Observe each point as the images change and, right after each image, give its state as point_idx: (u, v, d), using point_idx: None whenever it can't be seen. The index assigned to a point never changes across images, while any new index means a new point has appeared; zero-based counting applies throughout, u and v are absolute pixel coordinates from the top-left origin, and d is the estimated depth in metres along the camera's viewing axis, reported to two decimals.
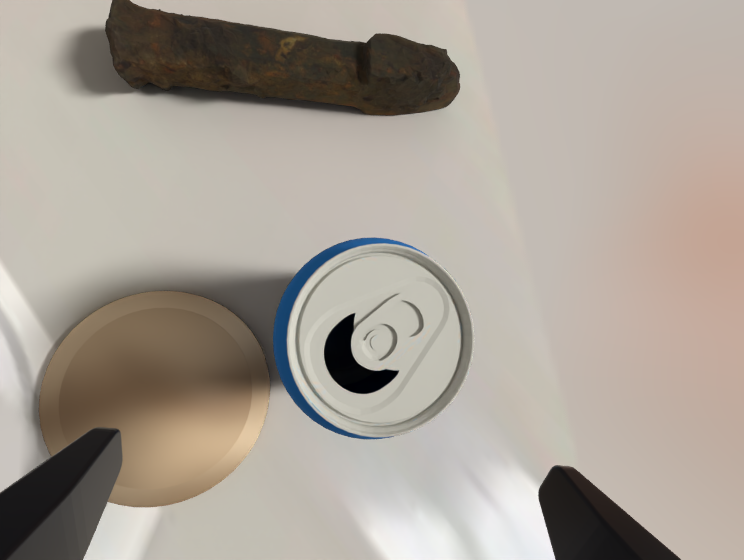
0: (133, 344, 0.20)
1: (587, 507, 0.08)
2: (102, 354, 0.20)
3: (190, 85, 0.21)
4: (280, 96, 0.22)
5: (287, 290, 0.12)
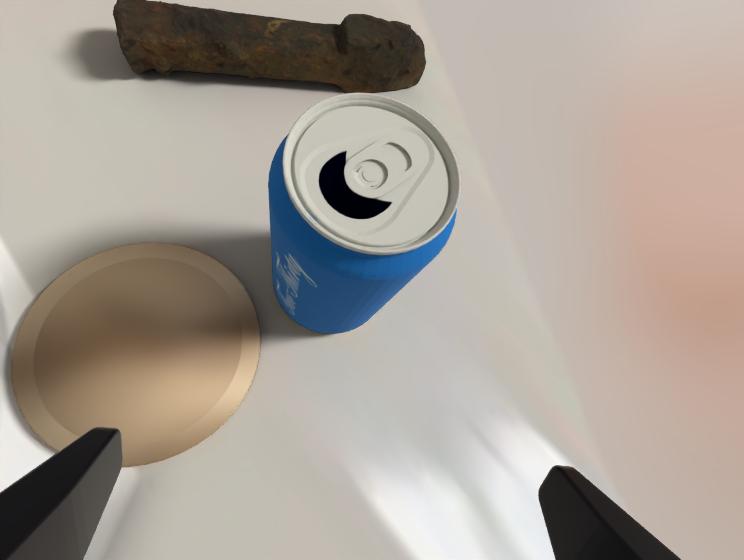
0: (119, 293, 0.20)
1: (587, 507, 0.08)
2: (86, 303, 0.19)
3: (187, 66, 0.24)
4: (269, 75, 0.25)
5: (281, 143, 0.13)
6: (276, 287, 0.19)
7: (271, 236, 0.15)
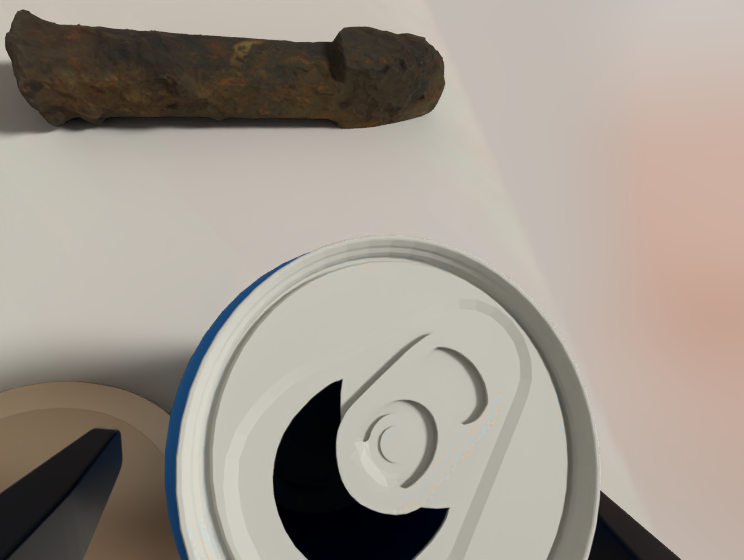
0: None
1: None
2: None
3: (126, 111, 0.17)
4: (240, 114, 0.19)
5: (200, 343, 0.06)
6: None
7: None
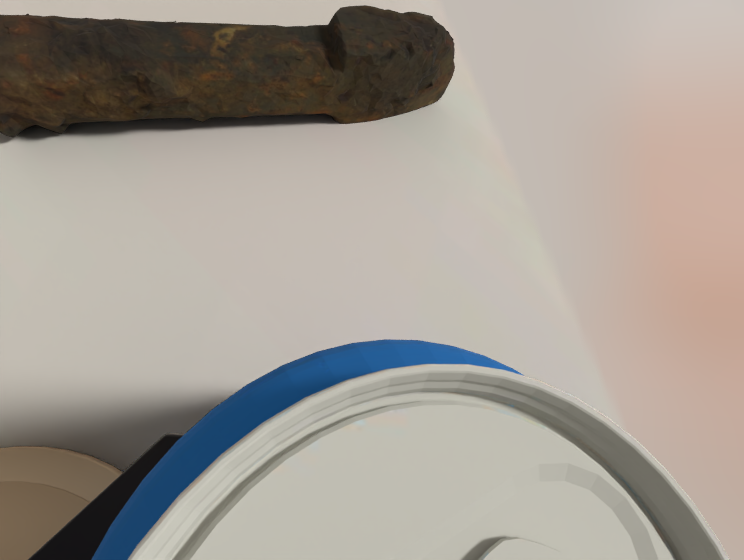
0: None
1: None
2: None
3: (92, 116, 0.15)
4: (226, 113, 0.16)
5: (98, 552, 0.03)
6: None
7: None
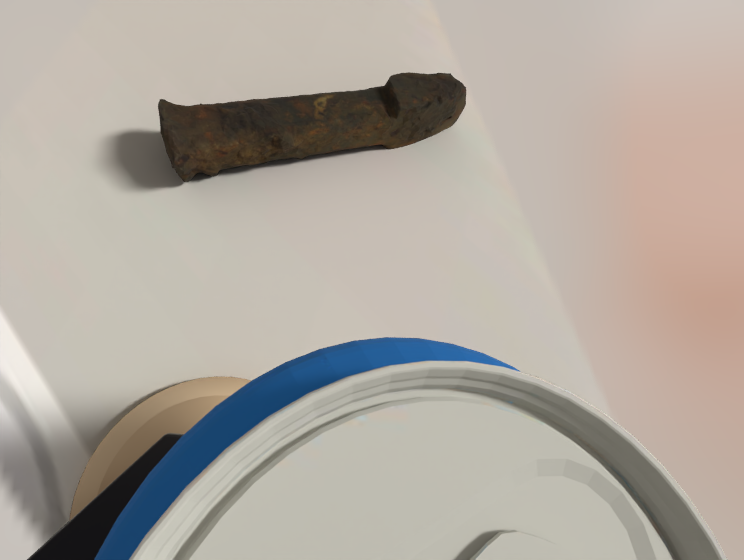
0: None
1: None
2: None
3: (238, 164, 0.22)
4: (318, 152, 0.24)
5: (105, 544, 0.03)
6: None
7: None
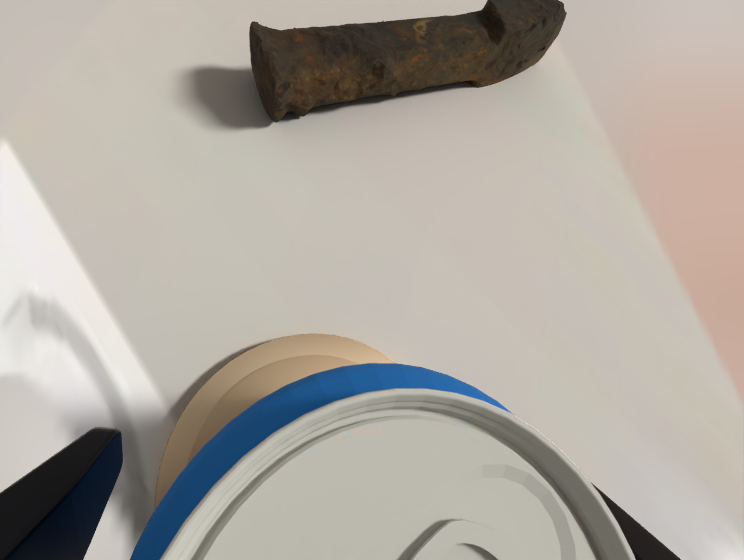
0: None
1: None
2: None
3: (332, 99, 0.20)
4: (412, 87, 0.22)
5: (148, 529, 0.04)
6: None
7: None
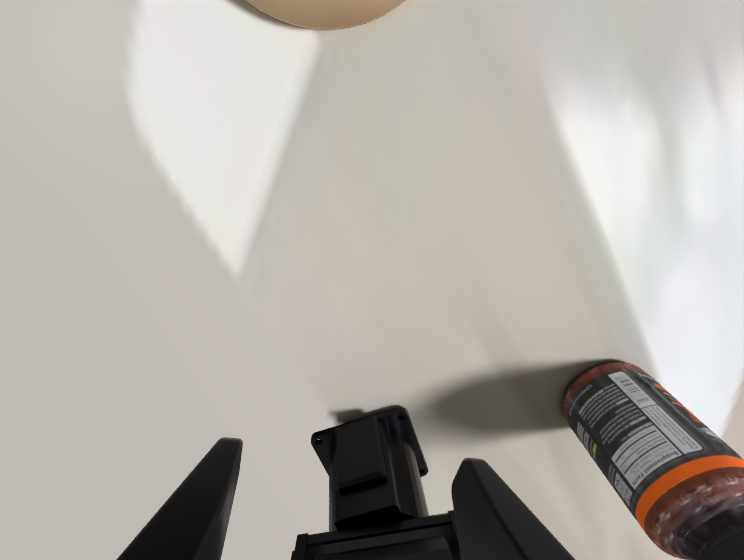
0: None
1: (486, 501, 0.07)
2: None
3: None
4: None
5: None
6: None
7: None
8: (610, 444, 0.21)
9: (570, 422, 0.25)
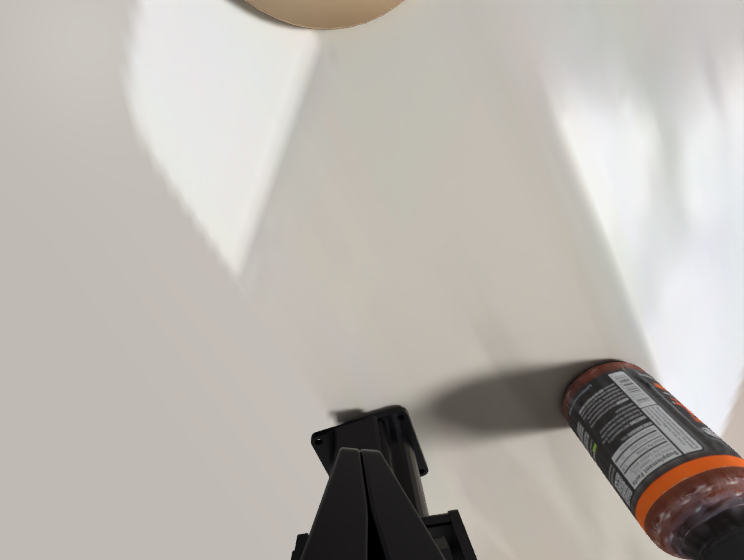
0: None
1: (368, 493, 0.07)
2: None
3: None
4: None
5: None
6: None
7: None
8: (610, 444, 0.21)
9: (570, 422, 0.25)
